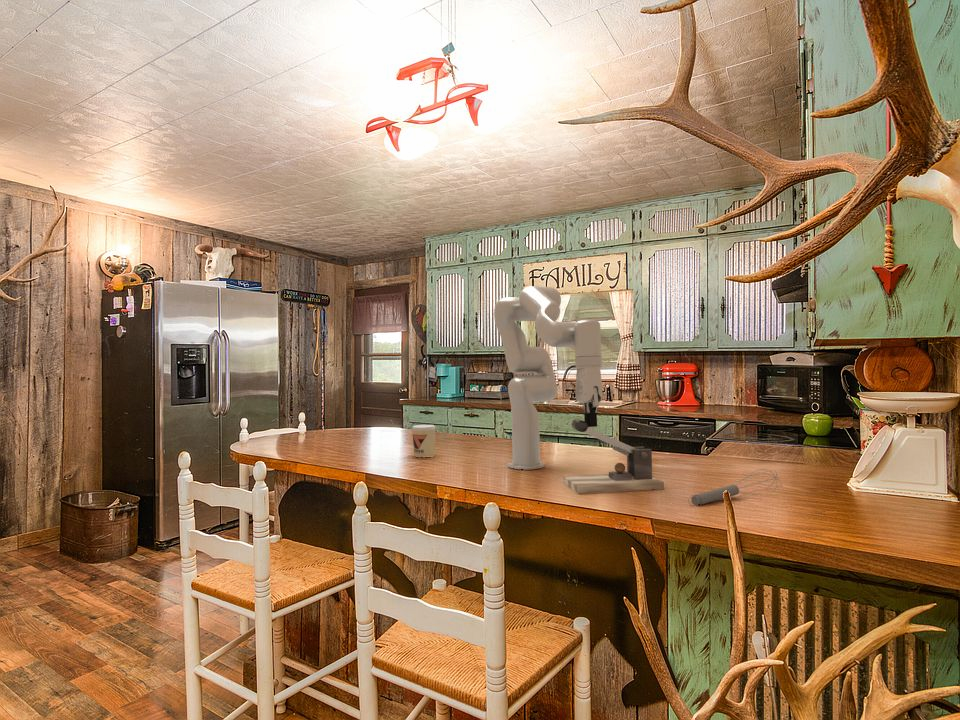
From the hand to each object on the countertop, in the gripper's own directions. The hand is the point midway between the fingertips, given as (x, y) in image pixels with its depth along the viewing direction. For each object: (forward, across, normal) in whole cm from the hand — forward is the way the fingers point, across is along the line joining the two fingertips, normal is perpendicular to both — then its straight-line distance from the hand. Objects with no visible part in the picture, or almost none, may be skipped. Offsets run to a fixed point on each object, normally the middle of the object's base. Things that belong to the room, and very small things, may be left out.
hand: (590, 426), depth 157 cm
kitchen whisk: (+19, +19, +32) cm, 42 cm away
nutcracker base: (+18, -1, +6) cm, 19 cm away
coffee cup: (+16, -65, -45) cm, 81 cm away
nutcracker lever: (+6, -1, +5) cm, 8 cm away
